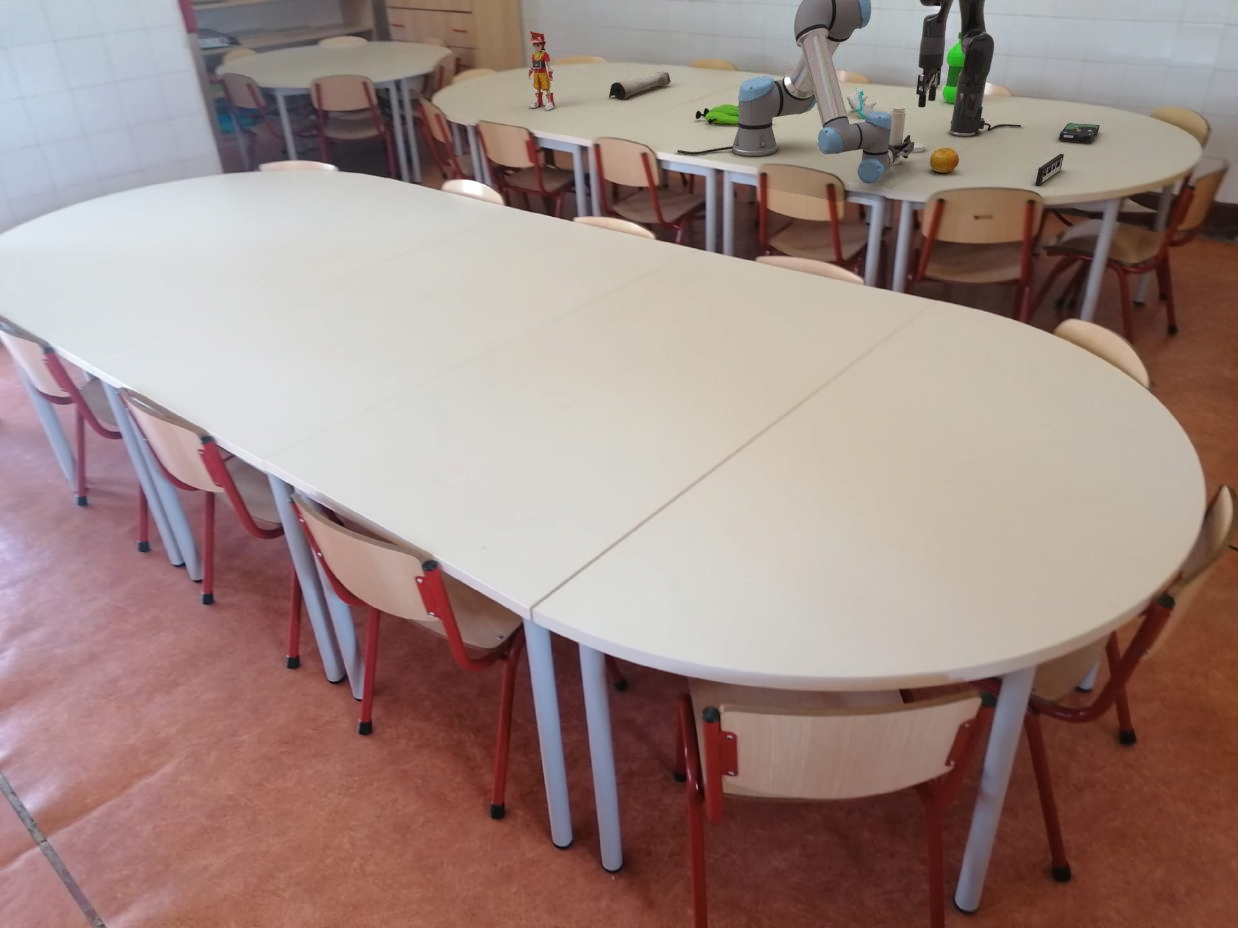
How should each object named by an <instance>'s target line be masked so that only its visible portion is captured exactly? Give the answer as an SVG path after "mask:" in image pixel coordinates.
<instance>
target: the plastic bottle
mask: <svg viewBox="0 0 1238 928" xmlns="http://www.w3.org/2000/svg"><path fill="white" fill-rule="evenodd" d="M957 39H958V42H957V43H956V44H954V45H953V46H952V47H951V48H950V49H949V50H948V52H947V54H946V63H947V64H948V69H947V70H948V71H947V76H946V77H947V78H946V84H945V85H944V87H943V90H942V97H943V99H944V100H945V101H946V102H947V103H948V104H954V103H955V96H956V90H957V83H958V77H959V74H960V72H961V71H962V69H963V64H964V58H965V56H964V55H963V53H962V51H961V31H959V32H958V36H957Z"/></svg>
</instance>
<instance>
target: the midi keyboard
mask: <svg viewBox="0 0 1238 928" xmlns="http://www.w3.org/2000/svg"><path fill="white" fill-rule="evenodd" d="M1064 157H1065V153H1059V154H1058V155H1056V156H1055V157H1052V159H1051V160H1049V161H1047V162H1045V164H1042V165H1041V166H1039V167H1038V169H1037V175H1036V179H1035V186H1040V185H1042V183H1044V182H1045V181H1047V180H1048V179H1049V178H1051V177H1052V176H1054V175H1055V174H1056V173H1058V172H1060V171H1061V170H1062V165H1063V161H1064Z"/></svg>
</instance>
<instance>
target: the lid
mask: <svg viewBox="0 0 1238 928" xmlns="http://www.w3.org/2000/svg"><path fill="white" fill-rule="evenodd" d="M924 150H925V145H924V144H923V143H918V142H917V143H916V142H914V149H913V151H912V152H911V153H921V152H923V151H924Z"/></svg>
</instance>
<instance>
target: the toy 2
mask: <svg viewBox="0 0 1238 928" xmlns="http://www.w3.org/2000/svg"><path fill="white" fill-rule="evenodd" d="M701 117H704V118H705V120H706V121H707V123H708V124H709V125H712V124H729V125H730V124H731V125H733V124H734V125H738V118H739V104H738V105H737V106H736V105H733V104H729V103H727V104H721V105H719V106H715V107H712V108H711V109H709V108H707V107H705V108H704V109H703V113H702V112H701V111H700V110H696V112H695V119H696V120H700V119H701Z"/></svg>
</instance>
